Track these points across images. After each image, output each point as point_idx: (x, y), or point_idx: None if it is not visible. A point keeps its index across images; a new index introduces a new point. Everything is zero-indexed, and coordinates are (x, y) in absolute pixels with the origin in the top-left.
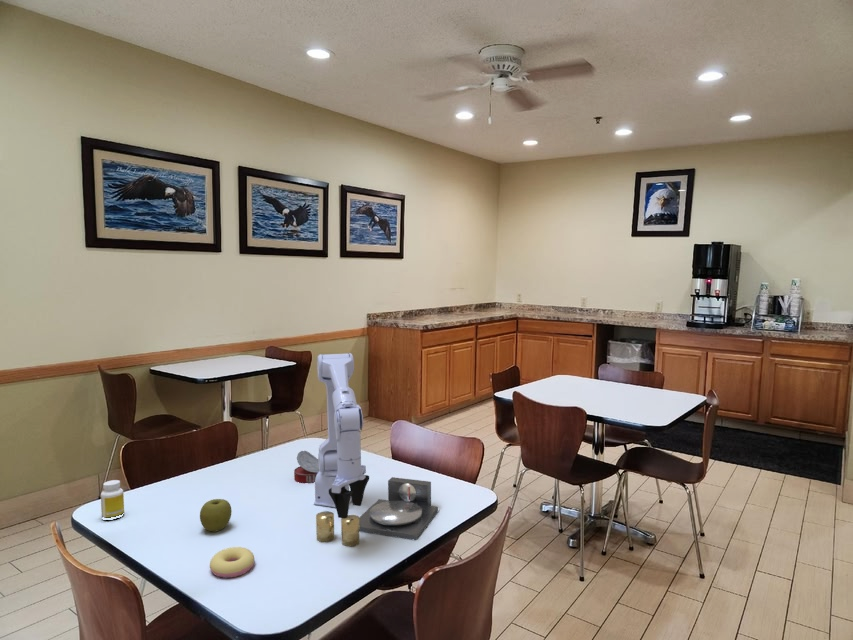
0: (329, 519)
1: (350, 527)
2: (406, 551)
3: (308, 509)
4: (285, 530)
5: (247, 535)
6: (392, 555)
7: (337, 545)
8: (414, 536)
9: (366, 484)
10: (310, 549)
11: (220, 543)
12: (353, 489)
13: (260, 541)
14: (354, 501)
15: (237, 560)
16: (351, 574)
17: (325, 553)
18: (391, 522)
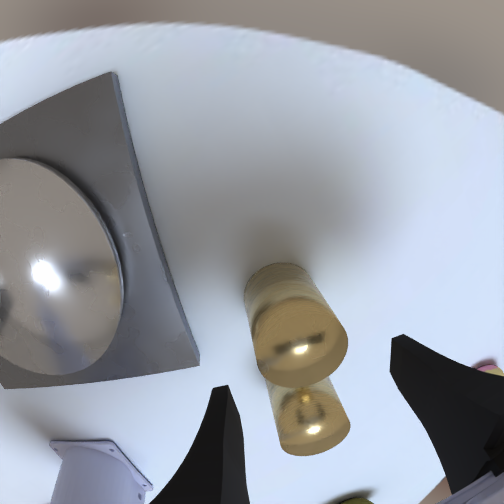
0: (330, 408)
1: (333, 312)
2: (226, 50)
3: None
4: (303, 457)
5: (353, 473)
6: (286, 82)
7: None
8: (114, 79)
9: (171, 485)
10: (372, 357)
11: (393, 469)
12: (244, 489)
13: (369, 447)
14: (239, 425)
15: None
16: (447, 152)
17: (379, 308)
18: (99, 224)
